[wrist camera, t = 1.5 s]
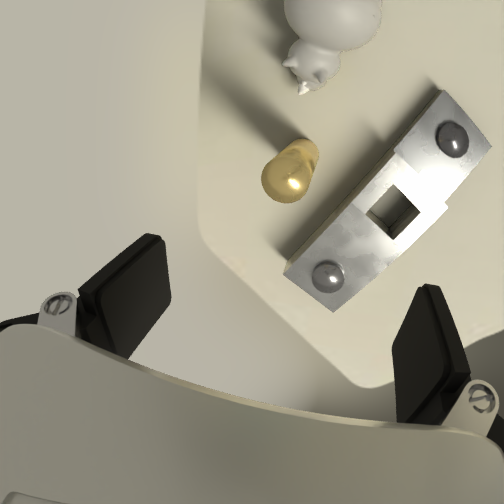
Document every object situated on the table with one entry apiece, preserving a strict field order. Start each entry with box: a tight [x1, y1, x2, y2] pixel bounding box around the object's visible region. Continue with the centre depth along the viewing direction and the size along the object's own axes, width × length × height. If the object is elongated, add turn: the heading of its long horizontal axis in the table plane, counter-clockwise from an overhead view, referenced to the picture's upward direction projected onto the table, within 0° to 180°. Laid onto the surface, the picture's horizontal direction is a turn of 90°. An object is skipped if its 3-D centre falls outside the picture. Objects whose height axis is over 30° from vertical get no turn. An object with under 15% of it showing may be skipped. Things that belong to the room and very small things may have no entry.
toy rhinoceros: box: [282, 0, 382, 95], centre depth 17 cm, size 7×12×8 cm, turn 156°
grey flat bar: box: [283, 90, 492, 312], centre depth 24 cm, size 24×7×3 cm, turn 146°
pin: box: [261, 139, 319, 203], centre depth 22 cm, size 3×3×10 cm
